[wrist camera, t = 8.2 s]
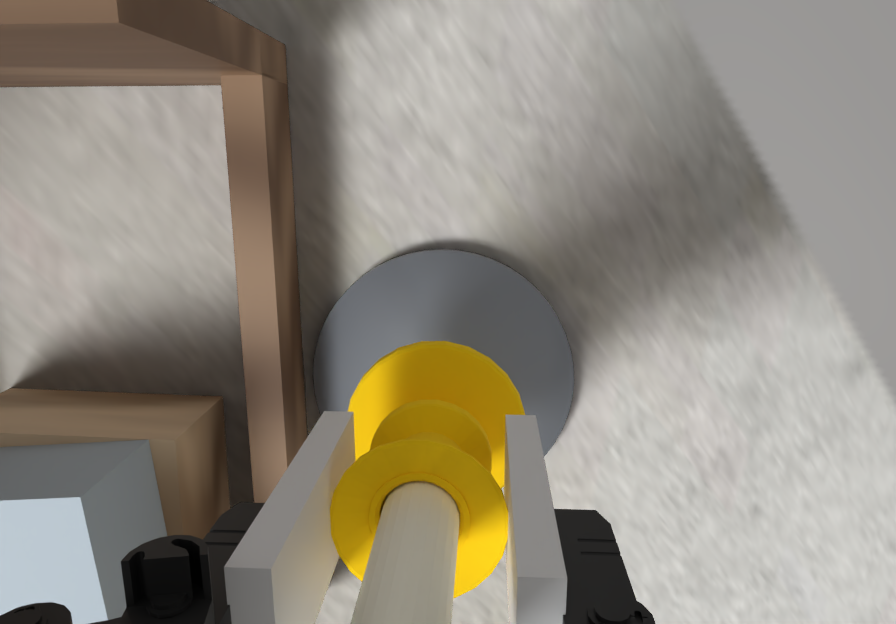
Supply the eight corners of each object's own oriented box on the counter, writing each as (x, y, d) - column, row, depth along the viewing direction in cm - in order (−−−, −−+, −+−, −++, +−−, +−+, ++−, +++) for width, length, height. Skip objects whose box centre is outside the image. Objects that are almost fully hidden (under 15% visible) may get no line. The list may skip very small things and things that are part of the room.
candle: (562, 439, 19) (856, 1520, 4) (424, 536, 20) (237, 1702, 5) (449, 303, 18) (279, 989, 3) (312, 410, 19) (-316, 1323, 4)
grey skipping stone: (311, 248, 22) (306, 250, 22) (577, 249, 22) (580, 252, 21) (323, 488, 24) (319, 496, 24) (566, 494, 24) (568, 502, 23)
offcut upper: (-66, 450, 21) (-174, 508, 17) (148, 439, 20) (80, 496, 17) (-23, 604, 22) (-116, 687, 18) (179, 598, 21) (121, 681, 18)
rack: (-133, 49, 22) (-641, -39, 12) (285, 44, 21) (110, -54, 11) (-29, 581, 26) (-333, 832, 16) (315, 593, 25) (212, 863, 16)
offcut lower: (14, 386, 24) (-75, 429, 20) (225, 394, 24) (174, 440, 20) (34, 530, 26) (-46, 596, 22) (234, 540, 25) (189, 609, 21)
